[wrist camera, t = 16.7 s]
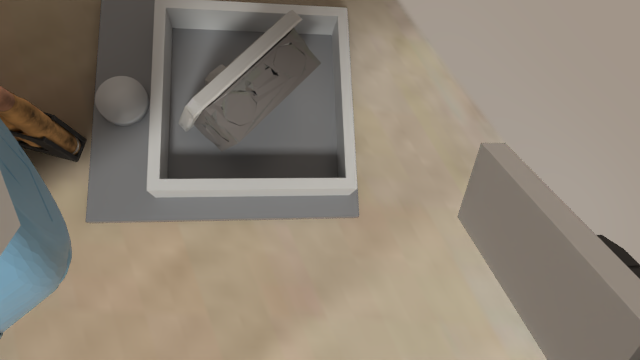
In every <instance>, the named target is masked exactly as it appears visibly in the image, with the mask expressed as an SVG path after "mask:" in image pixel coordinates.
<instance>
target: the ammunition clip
mask: <svg viewBox="0 0 640 360" xmlns="http://www.w3.org/2000/svg"><path fill="white" fill-rule="evenodd" d="M0 118H1V120H2V121H3V122H4V124H5V125H6V126H7V128H8V129H9V131H10V132H11V133H12V135H13V136H14V138H15V139H16V140H17V142H18V143H19V145H20V146H21V147H24V148H27V149H31V150H35V151H38V152H42V153H46V154H50V155H53V156H57V157H61V158H64V159H68V160H72V161H75V162H77V161H78V160H79V158H80V155H81V153H82V150H83V148H84V145H85V143H86V139H85V138H84V137H82V136H81V135H80V134H78V133H77V132H76V131H74V130H73V129H72V128H70V127H69V126H68V125H66V124H65V123H64V122H62V121H61V120H60V119H58V118H57V117H56V116H54V115H51V114H48V113H44V112H42V111H40V110H39V109H38V108H36V107H35V106H34V105H32V104H31V103H30V102H28V101H27V100H25V99H23V98H20V97H17V96H16V95H14V94H13V93H11V92H9V91H7V90H6V89H4V88H3V87H2V86H0Z"/></svg>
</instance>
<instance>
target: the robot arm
mask: <svg viewBox="0 0 640 360" xmlns="http://www.w3.org/2000/svg"><path fill="white" fill-rule="evenodd" d="M458 218H459V220H460V221H461V223H462V225H463V226H464V228H465V229H466V231H467V233H468V234H469V236H470V237H471V239H472V241H473V242H474V244H475V245H476V247H477V248H478V250H479V252H480V253H481V255H482V256H483V258H484V260H485V261H486V263H487V264H488V266H489V268H490V269H491V271H492V272H493V274H494V276H495V277H496V279H497V280H498V282H499V284H500V285H501V287H502V288H503V290H504V291H505V293H506V295H507V296H508V298H509V299H510V301H511V303H512V304H513V306H514V307H515V309H516V311H517V312H518V314H519V315H520V317H521V319H522V320H523V322H524V323H525V325H526V327H527V328H528V330H529V331H530V333H531V334H532V336H533V338H534V339H535V341H536V342H537V344H538V346H539V347H540V349H541V350H542V352H543V354H544V355H545V357H546V358H547V360H640V265H639V264H638V263H637V262H636V261H635V260H634V259H633V258H632V257H631V256H630V255H629V254H628V253H627V252H626V251H625V250H624V249H623V248H621V247H619V246H618V245H617V244H615V243H613V242H612V241H610V240H609V239H607V238H606V237H604V236H602V235H595V233H594V232H593V231H592V230H591V229H590V228H589V227H588V226H587V225H586V224H585V223H584V222H583V221H582V220H581V219H580V218H579V217H578V216H577V215H576V214H575V213H574V212H573V211H572V210H571V209H570V208H569V207H568V206H567V205H566V204H565V203H564V202H563V201H562V200H561V199H560V198H559V197H558V196H557V195H556V194H555V193H554V192H553V191H552V190H551V189H550V188H549V187H548V186H547V185H546V184H545V183H544V182H543V181H542V180H541V179H540V178H539V177H538V176H537V175H536V174H535V173H534V172H533V171H532V170H531V169H530V168H529V167H528V166H527V165H526V164H525V163H524V162H523V161H522V160H521V159H520V158H519V157H518V156H517V155H516V153H515V152H514V151H513V150H512V149H511V148H510V147H509V146H508V145H507V144H506V143H481V145H480V148H479V151H478V154H477V157H476V161H475V164H474V167H473V170H472V173H471V176H470V179H469V182H468V185H467V189H466V192H465V195H464V198H463V201H462V204H461V207H460V210H459V213H458ZM71 258H72V248H71V240H70V236H69V233H68V230H67V227H66V224H65V221H64V219H63V217H62V214H61V212H60V210H59V208H58V206H57V204H56V202H55V200H54V199H53V197H52V195H51V193H50V191H49V190H48V188H47V186H46V185H45V183H44V181H43V180H42V178H41V177H40V175H39V173H38V172H37V170H36V169H35V167H34V165H33V164H32V162H31V161H30V159H29V158H28V156H27V155H26V153H25V152H24V150H23V149H22V148H21V146H20V145H19V143H18V142H17V140H16V139H15V138H14V136H13V135H12V133H11V132H10V131H9V129H8V128H7V126H6V125H5V124H4V122H3V121H2V120H1V118H0V339H1V337H2V335H3V332H4V331H5V330H6V329H8V328H9V327H10V326H11V325H13V324H14V323H15V322H16V321H18V320H19V319H20V318H21V317H23V316H24V315H25V314H26V313H28V312H29V311H30V310H31V309H33V308H34V307H35V306H36V305H38V304H39V303H40V302H41V301H43V300H44V299H45V298H46V297H48V296H49V295H50V294H51V293H53V292H54V291H55V290H56V289H57V288H58V286H59V284H60V283H61V282H62V280H63V279H64V278H65V276H66V274H67V272H68V268H69V265H70V262H71Z"/></svg>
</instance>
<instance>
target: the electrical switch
mask: <svg viewBox="0 0 640 360" xmlns="http://www.w3.org/2000/svg"><path fill="white" fill-rule="evenodd" d="M301 20H302V19H301V18H300V17H299V16H298V15H297V14H296V13H295V12H294V11H293V10H291V11H289V12H288V13H287V14H285V15H284V16H283V17H282V18H281V19H280V20H278V21H277V22H276V23H275V24H274V25H273V26H272V27H271V28H269V29H268V30H267V31H266V32H265V33H264V34H263V35H262V36H261V37H259V38H258V39H257V40H256V41H255V42H254V43H253V44H252V45H250V46H249V47H248V48H247V49H246V50H245V51H244V52H243V53H241V54H240V55H239V56H238V57H237V58H236V59H234V61H233V62H231V63H230V64H229V65H228V66H227V67H225V66H224V65H219V66H218V67H217V68H216V69H214V70H213V71H212V72H211V73H209V75H208V76H207V77H206V79H205V85H206V86H205V87H204V88H202V89H201V90H200V91H199V92H198V93H197V94H196V95H195V96H194V97H192V99H191V100H190V101H189V102H188V103H187V104H186V106H185V107H184V110H183V112H182V115H181V117H180V120H179V123H178V124H179V125H180V126H181V127H182V128H183V129H184V130H185V131H186V132H187V131H189V130H190V129H191V128H192V127H193V126H194V125H195V127H196V128H197V129H198V130H199V131H200V132H201V133H202V134H203V135H204V136H205V137H206V138H207V139H209V140H210V141H212V142H213V143H214V144H215V145H216V146H217V148H218V149H219V150H220V151H223V150H226V149H228V148H230V147H232V146H234V145H236V144H238V142H240V141H241V140H242V139H243V138H244V137H245V136H246V135H248V134H249V133H250V132H251V131H252V130H253V129H254V128H255V127H256V126H257V125H258V124H259V123H260V122H261V121H262V120H263V119H264V118H265V117H266V116H267V115H268V114H269V113H270V112H271V111H272V110H273V109H274V108H276V107H277V106H278V105H279V104H280V103H281V102H282V101H283V100H284V99H285V98H286V97H287V96H288V95H289V94H290V93H291V92H292V91H293V90H294V89H295V88H296V87H297V86H298V85H299V84H300V83H301V82H302V81H304V80H305V79H306V78H307V77H308V76H309V75H310V74H311V73H312V72H313V71H314V70H315V69H316V68H317V67H318V66H319V65H320V64H321V62H320V61H319V60H318V59H317V58H316V57H315V55H314V54H313V53H312V52H311V51H310V50H309V48H308V47H307V45H306V43H305V41H304V40H303V39H302V38H301V37H300V35H299V34H298V33H297V31H296V30H295V27H296V26H297V25H298V23H299V22H300V21H301ZM254 100H255V101H254ZM253 120H254V121H253ZM252 121H253V122H252ZM235 139H236V140H237V141H238V142H237V141H236V140H235Z"/></svg>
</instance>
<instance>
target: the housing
mask: <svg viewBox="0 0 640 360" xmlns="http://www.w3.org/2000/svg"><path fill="white" fill-rule="evenodd" d="M291 10H293V11H294V12H295V13H296V14H297V15H298V16H299V17H300V18H301V19H302V20H301V21H300V22H299V23H298V25H297V26H296V27H295V30H296V31H297V33H298V34H299V35H300V37H301V38H302V39H303V40H304V41H305V43H306V45H307V47H308V48H309V50H310V51H311V52H312V53H313V54H314V55H315V57H316V58H317V59H318V60H319V61H320V62H321V64H320V65H319V66H318V67H317V68H316V69H315V70H314V71H313V72H312V73H311V74H310V75H309V76H308V77H307V78H306V79H305V80H304V81H302V82H301V83H300V84H299V85H298V86H297V87H296V88H295V89H294V90H293V91H292V92H291V93H290V94H289V95H288V96H287V97H286V98H285V99H284V100H283V101H282V102H281V103H280V104H279V105H278V106H277V107H276V108H274V109H273V110H272V111H271V112H270V113H269V114H268V115H267V116H266V117H265V118H264V119H263V120H262V121H261V122H260V123H259V124H258V125H257V126H256V127H255V128H254V129H253V130H252V131H251V132H250V133H249V134H248V135H246V136H245V137H244V138H243V139H242V140H241V141H240V142H238V141H237V140H236V139H235V140H236V141H237V142H238V144H236V145H234V146H232V147H230V148H228V149H226V150H223V151H220V150H219V149H218V148H217V146H216V145H215V144H214V143H213V142H212V141H210V140H209V139H207V138H206V137H205V136H204V135H203V134H202V133H201V132H200V131H199V130H198V129H197V128H196V127H195V125H194V126H193V127H192V128H191V129H190V130H189V131H187V132H186V131H185V130H184V129H183V128H182V127H181V126H180V125H179V124H178V123H179V120H180V117H181V115H182V112H183V110H184V107H185V106H186V104H187V103H188V102H189V101H190V100H191V99H192V97H194V96H195V95H196V94H197V93H198V92H199V91H200V90H201V89H202V88H204V87H205V86H206V85H205V79H206V77H207V76H208V75H209V73H211V72H212V71H213V70H214V69H216V68H217V67H218V66H219V65H224V66H225V67H227V66H228V65H229V64H230V63H231V62H233V61H234V59H236V58H237V57H238V56H239V55H240V54H241V53H243V52H244V51H245V50H246V49H247V48H248V47H249V46H250V45H252V44H253V43H254V42H255V41H256V40H257V39H258V38H259V37H261V36H262V35H263V34H264V33H265V32H266V31H267V30H268V29H269V28H271V27H272V26H273V25H274V24H275V23H276V22H277V21H278V20H280V19H281V18H282V17H283V16H284V15H285V14H287V13H288V12H289V11H291ZM254 101H255V100H254ZM253 121H254V120H253ZM253 121H252V122H253ZM357 217H359V206H358V188H357V170H356V152H355V134H354V116H353V98H352V80H351V62H350V45H349V27H348V9H347V8H344V7H325V6H306V5H287V4H269V3H250V2H231V1H212V0H101V13H100V27H99V41H98V55H97V70H96V84H95V98H94V112H93V126H92V141H91V155H90V169H89V183H88V197H87V212H86V222H88V223H123V222H173V221H222V220H272V219H321V218H357Z"/></svg>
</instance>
